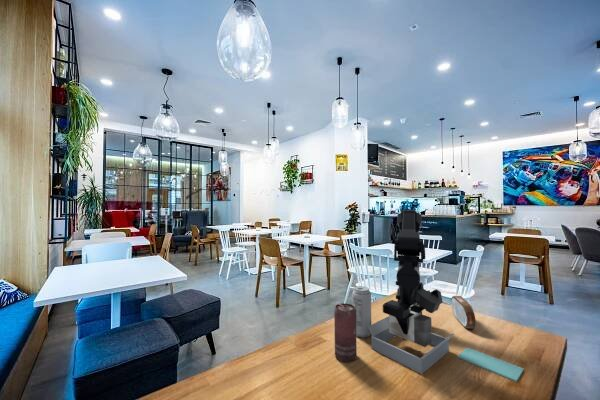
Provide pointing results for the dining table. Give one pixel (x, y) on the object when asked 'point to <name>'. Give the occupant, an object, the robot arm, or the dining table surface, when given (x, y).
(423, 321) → the block
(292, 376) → the dining table surface
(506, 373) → the mat
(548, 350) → the dining table surface
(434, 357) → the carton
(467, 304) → the tin
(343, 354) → the can
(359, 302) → the energy drink can
